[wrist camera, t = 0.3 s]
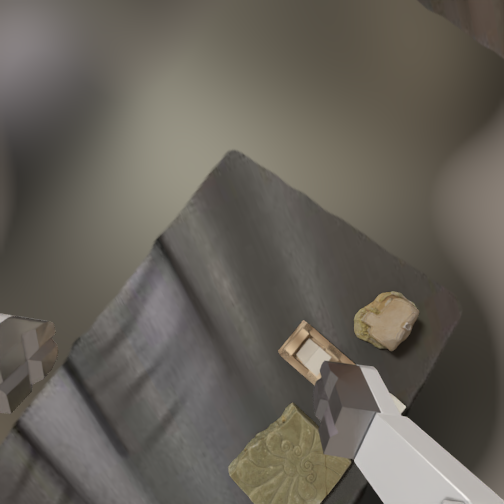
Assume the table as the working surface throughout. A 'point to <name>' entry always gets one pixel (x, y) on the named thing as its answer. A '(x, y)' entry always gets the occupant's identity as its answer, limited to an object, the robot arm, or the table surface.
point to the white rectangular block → (398, 404)
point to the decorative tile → (287, 463)
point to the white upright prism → (312, 356)
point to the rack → (309, 332)
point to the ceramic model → (386, 320)
